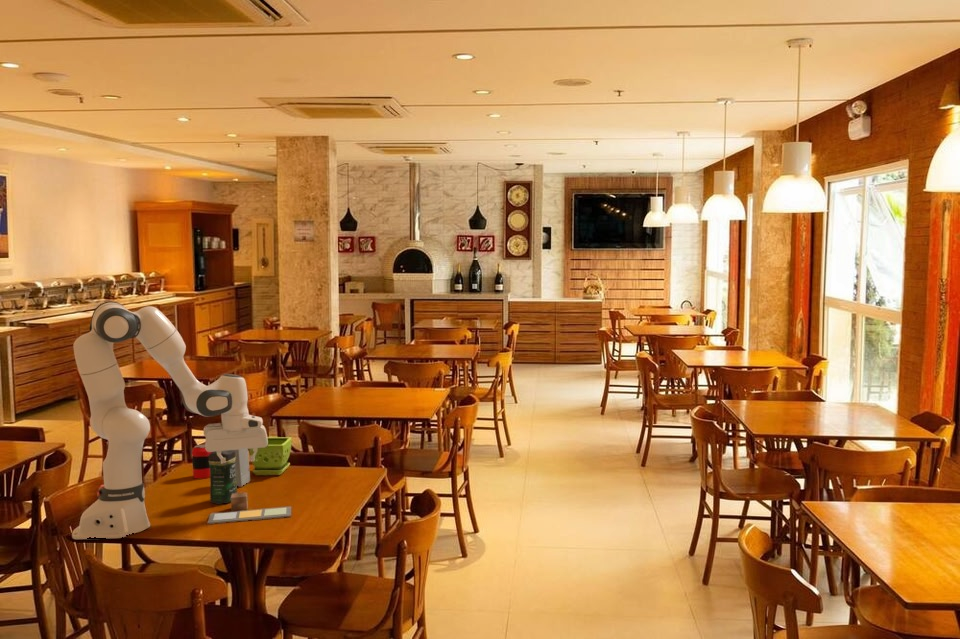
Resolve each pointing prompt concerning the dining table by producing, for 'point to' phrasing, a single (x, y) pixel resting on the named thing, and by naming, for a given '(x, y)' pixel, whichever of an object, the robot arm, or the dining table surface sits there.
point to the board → (249, 515)
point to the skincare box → (242, 467)
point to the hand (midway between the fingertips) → (238, 462)
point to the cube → (239, 501)
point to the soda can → (200, 462)
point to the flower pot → (272, 456)
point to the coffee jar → (222, 477)
